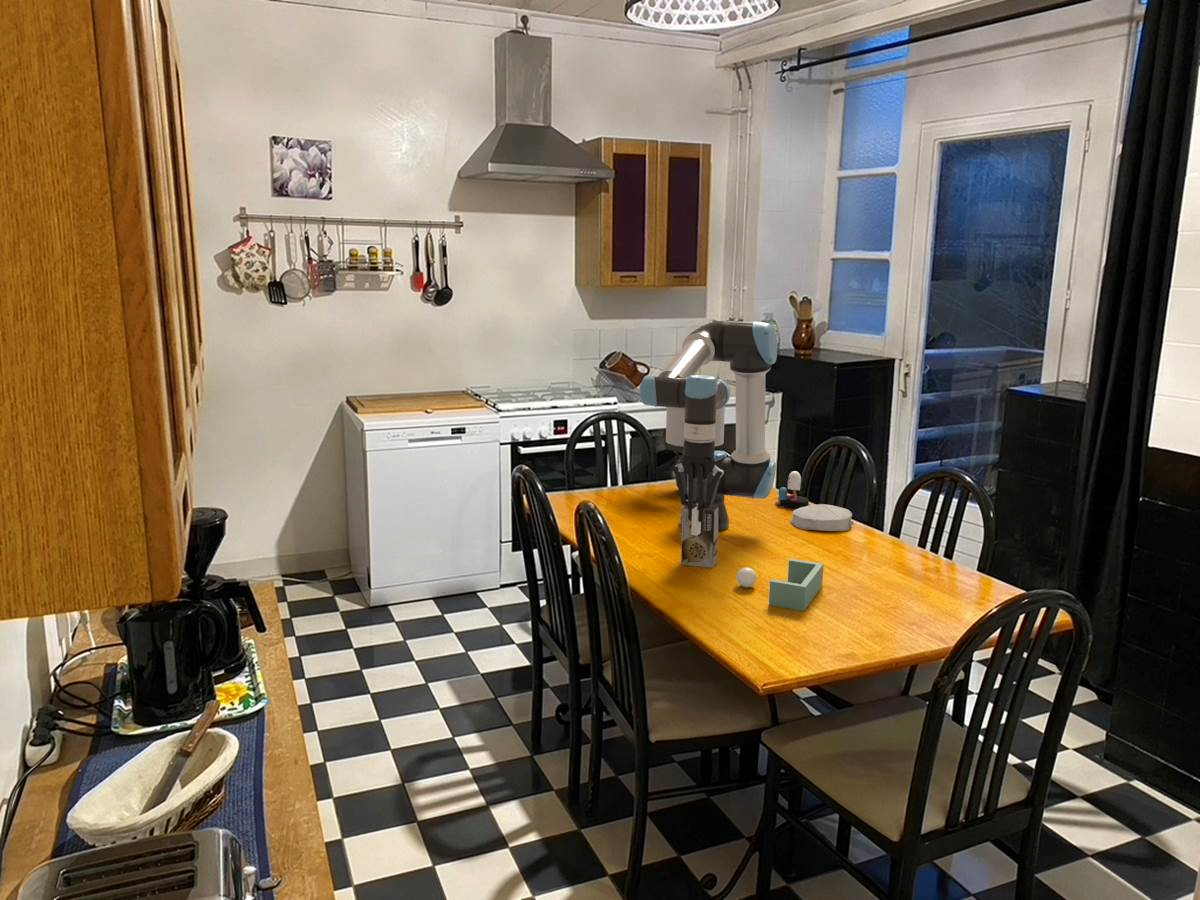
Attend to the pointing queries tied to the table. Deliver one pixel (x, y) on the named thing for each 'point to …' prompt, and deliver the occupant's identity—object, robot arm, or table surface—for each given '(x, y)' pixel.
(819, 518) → the food container
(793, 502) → the figurine
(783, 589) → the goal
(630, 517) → the table surface
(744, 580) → the ball
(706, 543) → the coffee box
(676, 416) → the lamp
